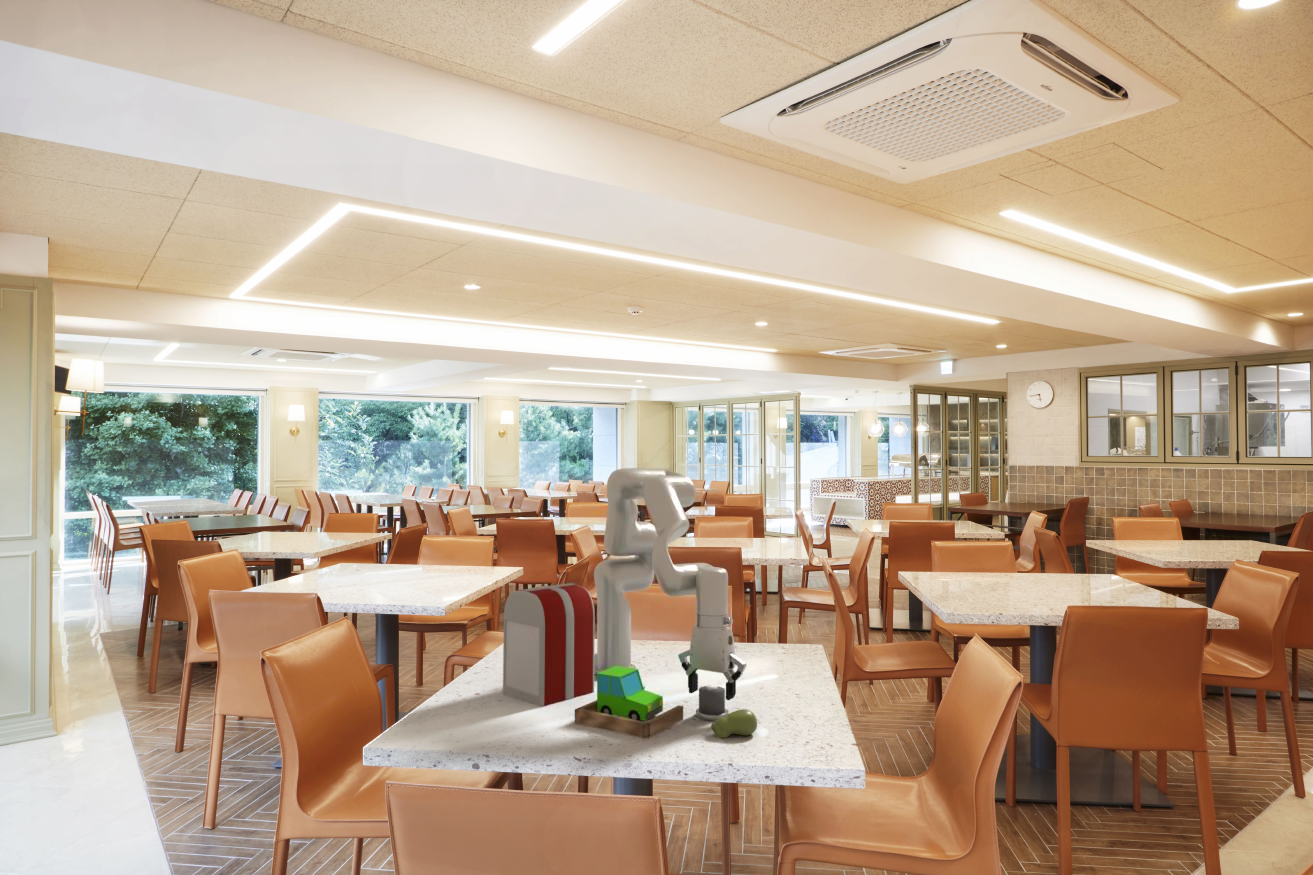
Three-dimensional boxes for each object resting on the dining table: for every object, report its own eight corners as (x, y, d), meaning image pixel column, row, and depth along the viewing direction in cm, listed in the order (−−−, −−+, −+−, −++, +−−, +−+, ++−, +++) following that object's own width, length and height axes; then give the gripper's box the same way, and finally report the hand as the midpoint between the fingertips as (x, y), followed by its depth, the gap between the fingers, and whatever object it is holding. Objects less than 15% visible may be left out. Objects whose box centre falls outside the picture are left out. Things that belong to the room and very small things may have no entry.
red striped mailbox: (596, 692, 197) (596, 586, 198) (541, 707, 184) (542, 593, 186) (554, 680, 208) (555, 579, 210) (500, 693, 196) (502, 586, 197)
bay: (574, 722, 173) (574, 709, 173) (613, 705, 186) (613, 692, 186) (647, 738, 162) (647, 724, 163) (683, 719, 175) (683, 706, 175)
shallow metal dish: (689, 717, 177) (689, 712, 177) (705, 708, 183) (705, 704, 183) (719, 722, 173) (719, 718, 173) (734, 713, 179) (734, 709, 179)
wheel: (694, 712, 177) (694, 687, 178) (706, 705, 182) (706, 681, 183) (717, 716, 174) (717, 691, 174) (729, 709, 179) (729, 685, 179)
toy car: (644, 727, 170) (644, 682, 170) (594, 718, 176) (594, 674, 177) (666, 715, 179) (666, 671, 179) (618, 706, 185) (618, 664, 186)
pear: (758, 711, 163) (713, 721, 162) (762, 736, 163) (717, 746, 162) (750, 703, 169) (706, 713, 167) (754, 727, 169) (710, 737, 167)
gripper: (752, 622, 178) (752, 697, 177) (687, 614, 187) (687, 685, 186) (738, 628, 171) (737, 705, 171) (671, 619, 181) (671, 693, 180)
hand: (711, 695), depth 179 cm, fingers open, 9 cm apart
